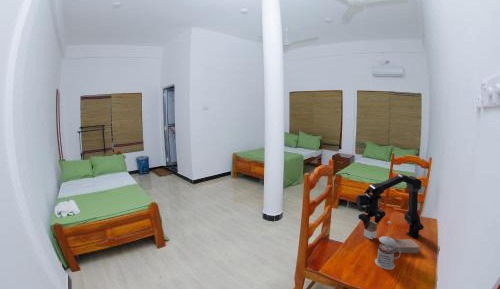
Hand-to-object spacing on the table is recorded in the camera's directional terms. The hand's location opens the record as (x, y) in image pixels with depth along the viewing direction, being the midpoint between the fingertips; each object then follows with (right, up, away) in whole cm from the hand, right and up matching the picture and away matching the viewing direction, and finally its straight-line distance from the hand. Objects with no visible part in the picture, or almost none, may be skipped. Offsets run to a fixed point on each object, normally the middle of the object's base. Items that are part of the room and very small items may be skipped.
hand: (370, 227), depth 167 cm
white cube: (0, -6, +1) cm, 7 cm away
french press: (-3, -12, -26) cm, 28 cm away
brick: (+13, -10, -12) cm, 20 cm away
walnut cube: (0, -2, 0) cm, 2 cm away
